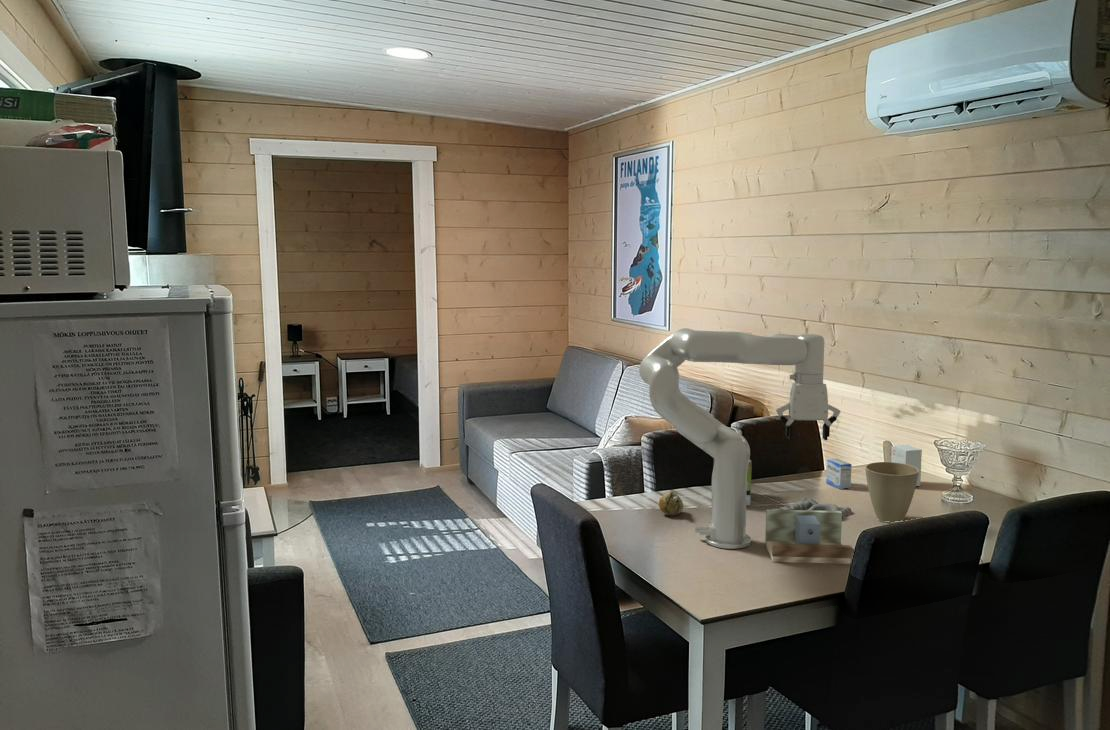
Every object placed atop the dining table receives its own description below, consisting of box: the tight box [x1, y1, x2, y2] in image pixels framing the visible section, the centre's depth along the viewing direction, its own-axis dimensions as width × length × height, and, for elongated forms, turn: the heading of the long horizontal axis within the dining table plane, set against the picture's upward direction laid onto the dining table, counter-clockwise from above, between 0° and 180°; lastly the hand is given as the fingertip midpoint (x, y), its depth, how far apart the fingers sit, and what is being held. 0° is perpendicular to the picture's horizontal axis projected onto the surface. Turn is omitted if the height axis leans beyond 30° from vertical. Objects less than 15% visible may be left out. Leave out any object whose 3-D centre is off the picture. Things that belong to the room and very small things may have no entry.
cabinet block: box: [795, 515, 820, 545], centre depth 221 cm, size 5×8×8 cm, turn 174°
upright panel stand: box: [764, 509, 853, 565], centre depth 221 cm, size 20×13×10 cm, turn 84°
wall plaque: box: [771, 497, 853, 518], centre depth 252 cm, size 24×19×4 cm
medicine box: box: [825, 458, 853, 490], centre depth 283 cm, size 8×4×9 cm, turn 17°
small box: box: [890, 444, 923, 487], centre depth 283 cm, size 8×6×13 cm
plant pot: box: [864, 461, 919, 524], centre depth 247 cm, size 15×15×16 cm
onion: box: [658, 490, 684, 516], centre depth 255 cm, size 8×8×8 cm
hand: (807, 439), depth 231 cm, fingers open, 9 cm apart
